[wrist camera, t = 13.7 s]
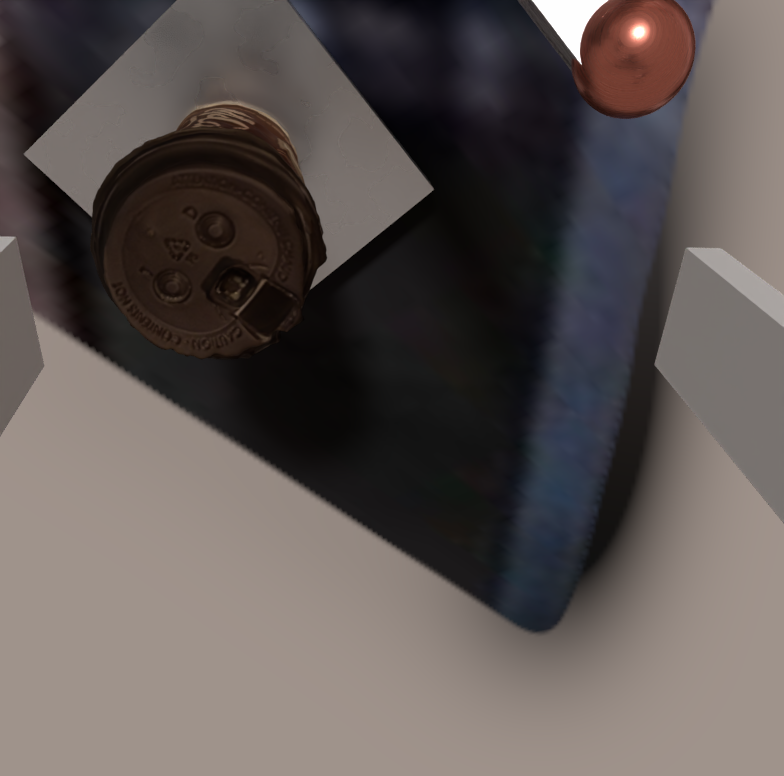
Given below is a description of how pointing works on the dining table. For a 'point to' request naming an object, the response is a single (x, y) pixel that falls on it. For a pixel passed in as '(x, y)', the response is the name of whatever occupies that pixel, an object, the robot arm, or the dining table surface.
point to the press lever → (620, 50)
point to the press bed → (250, 89)
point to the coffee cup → (209, 235)
